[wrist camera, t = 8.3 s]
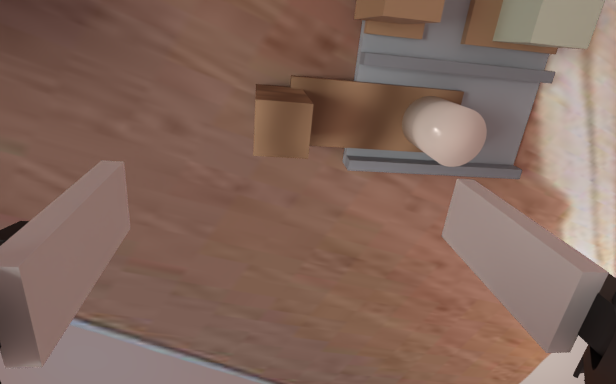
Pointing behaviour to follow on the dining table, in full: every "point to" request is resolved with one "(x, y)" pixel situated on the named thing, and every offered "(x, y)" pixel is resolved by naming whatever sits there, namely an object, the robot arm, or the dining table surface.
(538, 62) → the lane board
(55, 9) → the dining table surface
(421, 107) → the cream rounded capsule
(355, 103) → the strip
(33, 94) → the dining table surface
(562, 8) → the sage block
